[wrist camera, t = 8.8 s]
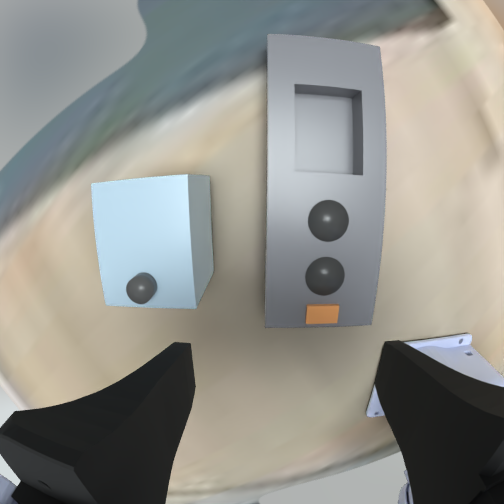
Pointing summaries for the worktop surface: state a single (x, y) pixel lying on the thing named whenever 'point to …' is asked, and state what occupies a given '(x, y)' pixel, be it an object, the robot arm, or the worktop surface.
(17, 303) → the worktop surface
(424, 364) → the robot arm
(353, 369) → the worktop surface
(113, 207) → the block
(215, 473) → the worktop surface
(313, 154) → the grey control panel
